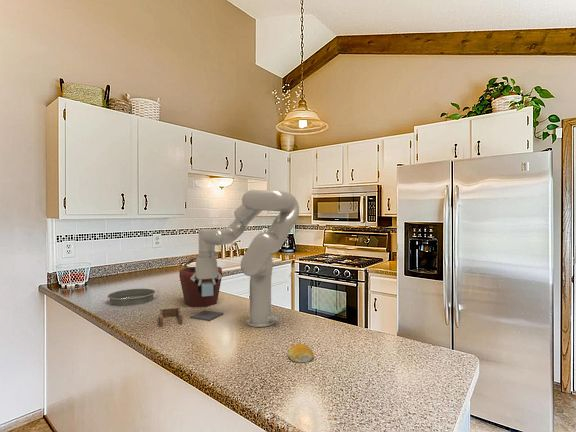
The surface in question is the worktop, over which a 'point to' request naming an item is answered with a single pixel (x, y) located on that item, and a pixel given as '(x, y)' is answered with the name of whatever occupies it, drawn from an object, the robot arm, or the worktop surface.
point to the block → (207, 289)
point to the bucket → (196, 288)
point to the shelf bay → (170, 314)
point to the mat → (206, 315)
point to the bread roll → (300, 353)
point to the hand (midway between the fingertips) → (206, 292)
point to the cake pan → (131, 297)
